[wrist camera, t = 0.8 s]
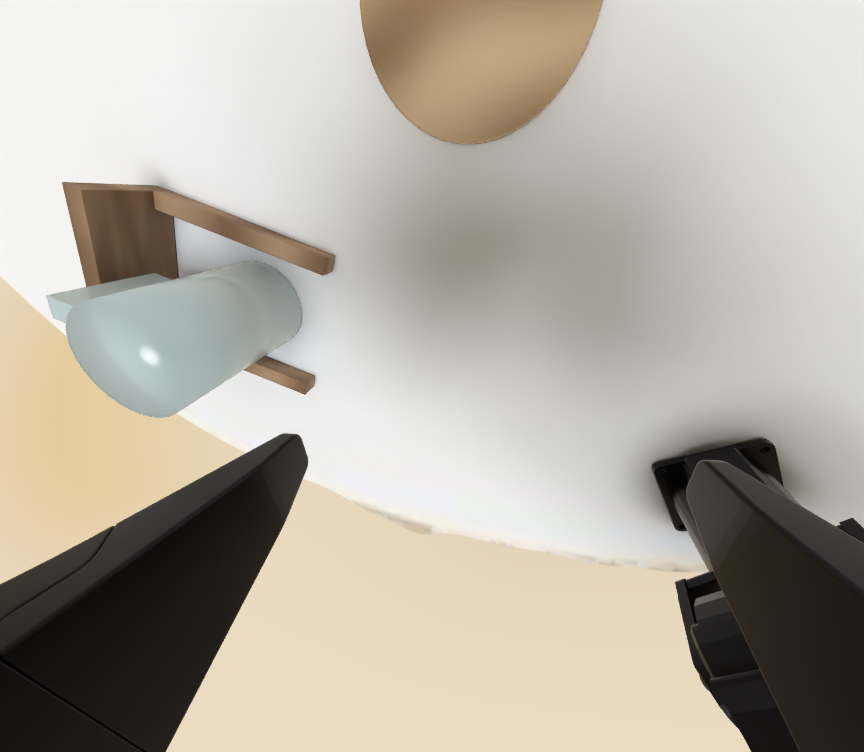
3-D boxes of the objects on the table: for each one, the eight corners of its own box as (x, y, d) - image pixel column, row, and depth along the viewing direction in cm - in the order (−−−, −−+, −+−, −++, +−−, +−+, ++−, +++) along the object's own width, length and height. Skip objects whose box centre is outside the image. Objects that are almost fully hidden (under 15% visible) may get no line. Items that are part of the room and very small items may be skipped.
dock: (334, 255, 20) (287, 271, 16) (313, 386, 25) (273, 425, 21) (156, 185, 20) (62, 182, 16) (171, 329, 26) (102, 355, 21)
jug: (306, 280, 21) (181, 331, 13) (297, 354, 24) (190, 434, 16) (184, 231, 22) (-15, 252, 13) (189, 311, 24) (29, 368, 16)
